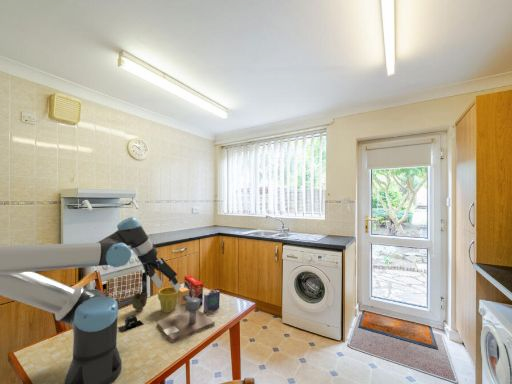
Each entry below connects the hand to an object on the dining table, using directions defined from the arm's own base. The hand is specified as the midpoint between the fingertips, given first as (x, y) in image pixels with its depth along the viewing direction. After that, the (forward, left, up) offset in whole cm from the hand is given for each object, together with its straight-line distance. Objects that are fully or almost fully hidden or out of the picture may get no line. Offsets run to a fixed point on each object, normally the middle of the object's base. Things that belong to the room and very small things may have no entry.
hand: (169, 287), depth 105 cm
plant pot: (+7, +16, -18) cm, 25 cm away
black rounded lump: (-13, +11, -18) cm, 25 cm away
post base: (+7, -4, -18) cm, 19 cm away
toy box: (+22, +18, -18) cm, 33 cm away
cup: (-5, +24, -18) cm, 31 cm away
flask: (+24, +1, -18) cm, 30 cm away
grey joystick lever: (+9, -2, -10) cm, 13 cm away
